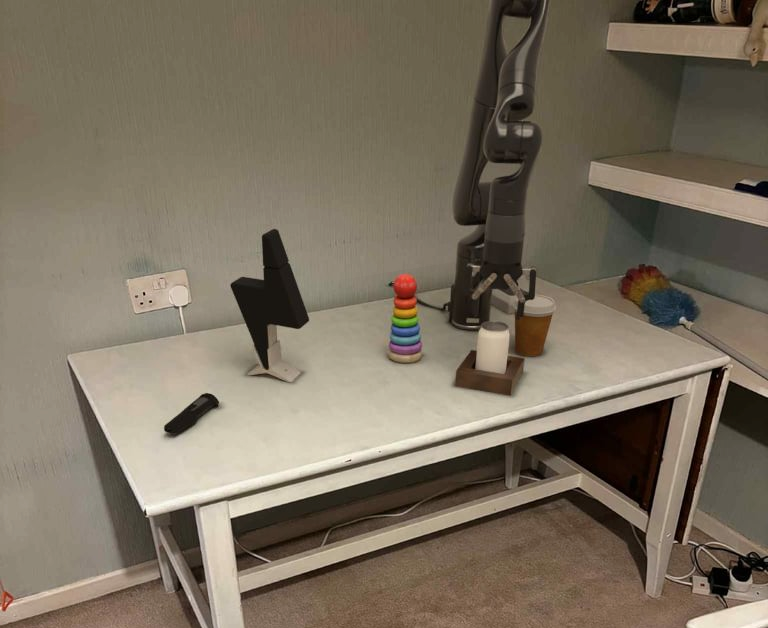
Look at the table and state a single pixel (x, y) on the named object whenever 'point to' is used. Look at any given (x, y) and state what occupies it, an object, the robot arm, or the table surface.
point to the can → (492, 347)
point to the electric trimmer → (191, 413)
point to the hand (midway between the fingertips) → (496, 317)
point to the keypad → (504, 299)
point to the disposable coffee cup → (533, 325)
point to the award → (271, 307)
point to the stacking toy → (405, 322)
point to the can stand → (489, 375)
